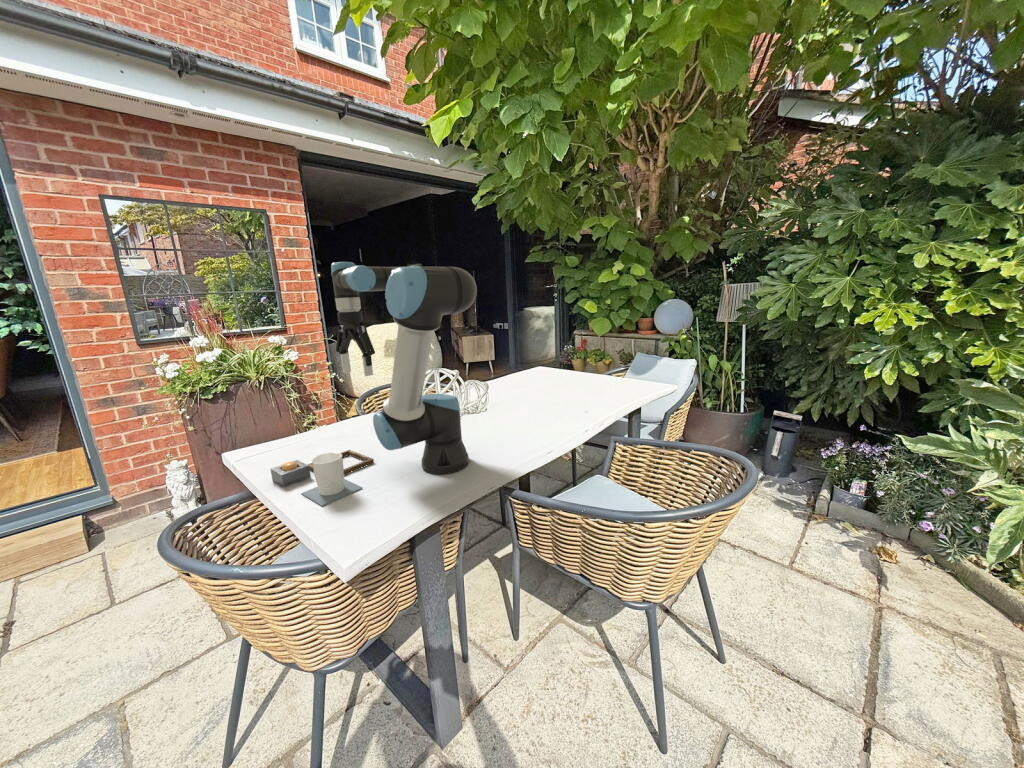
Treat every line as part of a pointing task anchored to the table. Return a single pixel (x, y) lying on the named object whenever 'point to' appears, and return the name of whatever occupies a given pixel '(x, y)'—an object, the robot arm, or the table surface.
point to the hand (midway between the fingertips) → (357, 373)
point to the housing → (290, 474)
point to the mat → (324, 500)
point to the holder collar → (365, 462)
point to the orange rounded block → (289, 466)
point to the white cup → (329, 473)
